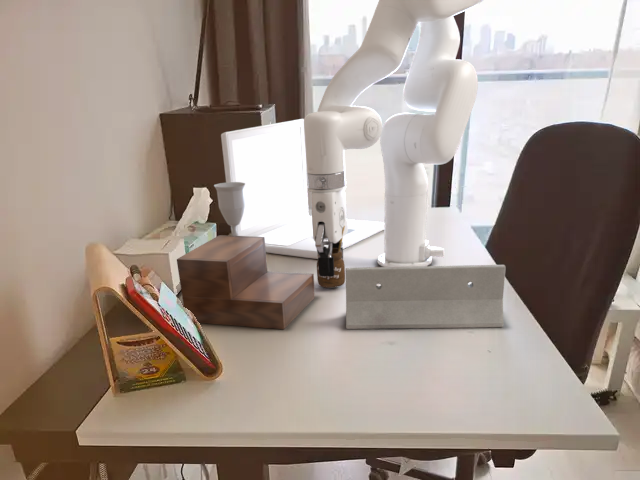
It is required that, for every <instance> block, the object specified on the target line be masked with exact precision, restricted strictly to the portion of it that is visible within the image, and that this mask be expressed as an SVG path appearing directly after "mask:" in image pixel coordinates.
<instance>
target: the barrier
mask: <svg viewBox="0 0 640 480" xmlns="http://www.w3.org/2000/svg"><path fill="white" fill-rule="evenodd" d="M506 269H507V268H506V265H505V264H473V265H472V264H471V265H470V264H469V265H468V264H467V265H465V264H463V265H428V266H412V267H383V266H371V267H370V266H369V267H368V266H367V267H364V266H363V267H346V268H345V329H347V330H356V329H357V330H361V329H362V330H368V329H369V330H370V329H371V330H375V329H377V330H381V329H385V330H386V329H453V328H454V329H455V328H457V329H461V328H462V329H464V328H467V329H468V328H504V292H505V282H506V281H505V280H506ZM469 283H470V284H469Z"/></svg>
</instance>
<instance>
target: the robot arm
mask: <svg viewBox="0 0 640 480" xmlns="http://www.w3.org/2000/svg"><path fill="white" fill-rule="evenodd" d="M483 1H484V0H378V2H377V5H376V7H375V10H374V13H373V16H372V18H371V19H370V23H369V25H368V28H367V30H366V32H365V36H364V38H363V40H362V42H361V45H360V47H359V48H358V49H357V50H356V52H353V54H352V55H351V56H350V57H349V58H348V59H347V61H346V62H345V63H343V65H342V66H341V67H340V68H339V70H338V71H337V72H336V73H335V74H334V76H333V77H332V78H331V79H330V81H329V83H328V84H327V86H326V88H325V90H324V93H323V95H322V97H321V100H320V103H319V106H318V108H317V111H314V112H309V113H308V114H307V115H305V117H304V118H303V119H304V136H305V152H306V171H307V191H308V192H310V193H311V216H312V231H313V239H314V241H315V242H316V243H315V246H316V248H317V257H318V259H317V261H318V267H319V275H320V276H329V277H333V276H334V257H332V248H338V249H339V245H340V239H341V238H342V237H343V236H344V235H345V234H346V233H347V232H348V221H347V219H348V212H347V211H348V210H347V201H346V199H347V198H346V192H345V190H346V188H347V181H346V180H347V179H346V158H345V157H346V156H345V155H346V154H345V152H346V150H363V149H368V148H371V147H372V146H374V145H375V144H376V143H377V142H378V141H379V140H380V141H379V142H380V143H379V144H380V150H381V156H382V161H383V170H384V171H383V172H384V173H383V174H384V217H383V218H384V221H383V222H384V230H383V232H384V236H383V237H384V240H383V241H384V242H383V245H384V246H383V252H384V253H382V254H380V255H378V256H377V264H378V265H379V266H380V267H412V266H430V265H431V264H432V261H433V257H434V258H443V259H444V258H445V251H446V250H445V248H442V247H441V246H431V245H430V244H429V243H430V241H429V240H427V224H428V223H427V222H428V221H427V219H428V217H427V216H428V193H429V180H428V177H427V172H426V170H425V169H426V168H425V167H424V164H425V165H433V166H434V165H435V166H437V165H444V164H447V163H449V162H450V161H451V160H452V159H453V158H454V157H455V155H456V154H457V151H458V149H459V147H460V145H461V142H462V139H463V136H464V134H465V131H466V129H467V126H468V122H469V120H470V117H471V115H472V111H473V109H474V106H475V102H476V99H477V94H478V88H479V80H478V79H479V78H478V73H477V71H476V67H474V65H473V64H472V63H471V62H470V61H468V60H466V59H465V60H464V59H460V58H459V59H458V58H457V55H458V52H459V48H460V43H461V36H460V30H459V27H458V24H457V22H456V19H455V17H454V16H457V15H459V14H461V13H463V12H465V11H469V10H470V9H473V8H474V7H477V6H478V5H480V4H481V3H482V2H483ZM418 24H419V26H420V29H419V30H420V34H419V37H418V42H417V46H416V49H415V51H414V54H413V57H412V60H411V63H410V67H409V70H408V72H407V76H406V78H405V82H404V86H403V89H402V91H403V92H402V97H403V101H404V103H405V105H406V106H407V107H408V108H410V109H412V110H415V111H420V112H421V113H420V112H401V113H396V114H394V115H392V116H390V117H389V118H388V119H387V120H386V121H385V122H384V123H383V122H382V118H381V116H380V115H379V113H378V112H377V111H376V110H375V109H373V108H371V107H367V106H359V105H357V106H356V105H353V104H354V102H355V101H356V100H357V98H358V97H359V96H360V95H361V94H362V93H363V92H364V91H366V90H367V89H368V88H370V87H371V86H372V85H373V86H374V85H375V84H377V83H379V82H380V81H382V80H384V79H385V78H387V77H389V76H390V75H392V74H394V73H395V72H396V71H397V70H398V69H399V68H400V67H401V66H402V63H403V60H404V58H405V55H406V52H407V50H408V47H409V45H410V42H411V40H412V38H413V35H414V33H415V31H416V29H417V26H418ZM456 58H457V59H456ZM422 112H434V113H422ZM344 226H345V228H344V232H343V236H342V230H343V227H344ZM324 239H328V241H324ZM324 245H328V250H327V247H324ZM342 246H343V242H342V243H341V247H340V249H341V250H342V254H343V256H342V258H343V259H344V249H343V247H342Z"/></svg>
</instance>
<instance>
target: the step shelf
mask: <svg viewBox="0 0 640 480" xmlns="http://www.w3.org/2000/svg"><path fill="white" fill-rule="evenodd" d="M176 265H177V271H178V278H179V284H180V291H181V297H182V298H181V299H182V303H183V308H184V307H185V308H187V309H188V310H190V311H191V312H192V313H193V314H194V316H195V317H196V319H197V321H198V322H199V324H209V325H210V324H211V325H223V326H236V327H237V326H238V327H249V328H261V329H274V330H285V329H286V328H287V327H288V326H289V325H290V324H291V323H292V322H293V321H294V320H295V319H296V318H297V317H298V316H299V315H300V314H301V313H302V312H303V310H304V309H305V308H307V306H309V304H310V303H311V302H312V301H313V300H314V299H315V297H316V296H315V295H316V294H315V274H314V273H307V272H289V271H288V272H287V271H268V262H267V253H266V250H265V238H264V237H253V236H232V235H225V234H224V235H223V234H221V235H217V236H215V237H214V238H212V239H210V240H208V241H206V242H205V243H203V244H201V245H199V246H198V247H196V248H193V249H192V250H191V251H189V252H186V253H184V254H183V255H181V256H180V257H177V258H176Z"/></svg>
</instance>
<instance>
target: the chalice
mask: <svg viewBox="0 0 640 480" xmlns="http://www.w3.org/2000/svg"><path fill="white" fill-rule="evenodd" d="M244 186H245V183H241V182H227V183H226V182H220V183H216V184H214V185H213V187H214V189H215V190H216V195H217V202H218V209H219V211H220V213H221V215H222V217H223V219H224V221H225V222H226V224H227V225H228V226H230V227H231V226H232V229H233V230H232V231H231V236H238V233H237V230H236V227H237V225H239V224H240V222H241V219H242V216H243V213H244V209H245V199H244Z"/></svg>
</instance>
